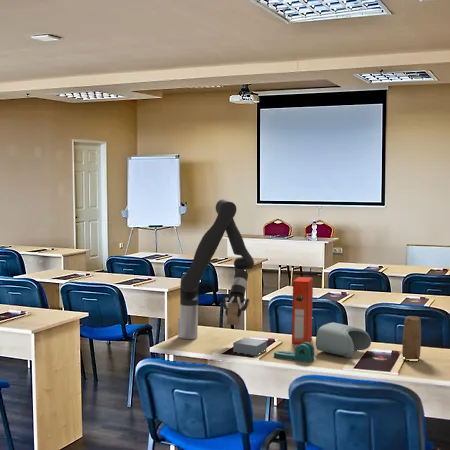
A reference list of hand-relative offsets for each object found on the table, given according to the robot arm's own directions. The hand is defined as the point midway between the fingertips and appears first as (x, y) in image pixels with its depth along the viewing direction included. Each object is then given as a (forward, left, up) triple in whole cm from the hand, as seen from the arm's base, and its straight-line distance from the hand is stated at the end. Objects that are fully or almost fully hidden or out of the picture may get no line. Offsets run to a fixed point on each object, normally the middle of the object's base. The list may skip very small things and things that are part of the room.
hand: (232, 315), depth 320 cm
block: (+81, +29, -15) cm, 87 cm away
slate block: (+14, -5, -15) cm, 21 cm away
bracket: (+36, -4, -15) cm, 39 cm away
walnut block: (-1, +2, -4) cm, 5 cm away
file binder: (+24, +30, -15) cm, 41 cm away
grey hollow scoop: (+51, +20, -15) cm, 56 cm away
